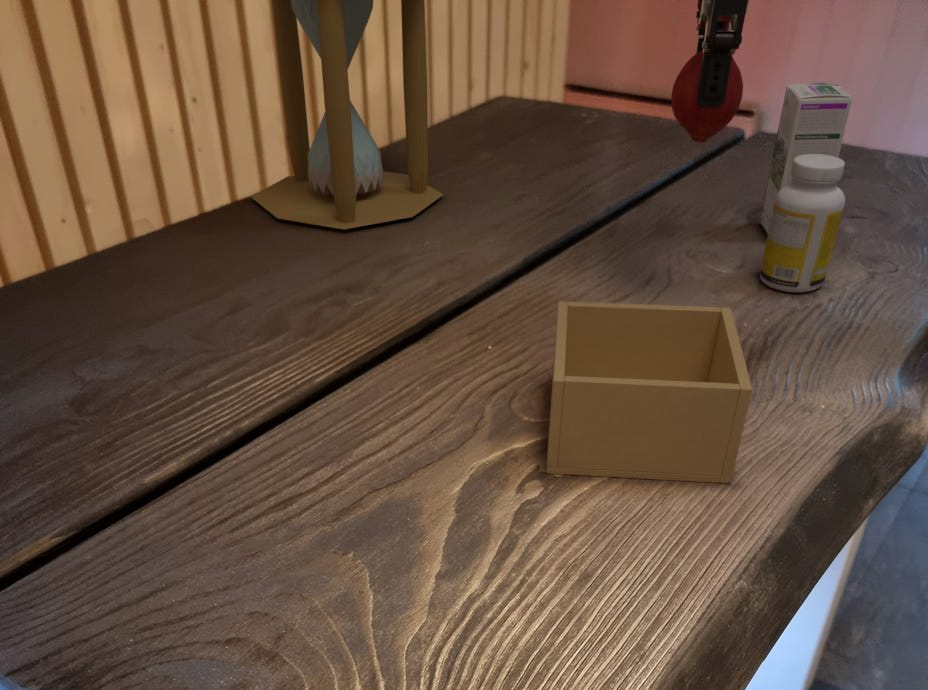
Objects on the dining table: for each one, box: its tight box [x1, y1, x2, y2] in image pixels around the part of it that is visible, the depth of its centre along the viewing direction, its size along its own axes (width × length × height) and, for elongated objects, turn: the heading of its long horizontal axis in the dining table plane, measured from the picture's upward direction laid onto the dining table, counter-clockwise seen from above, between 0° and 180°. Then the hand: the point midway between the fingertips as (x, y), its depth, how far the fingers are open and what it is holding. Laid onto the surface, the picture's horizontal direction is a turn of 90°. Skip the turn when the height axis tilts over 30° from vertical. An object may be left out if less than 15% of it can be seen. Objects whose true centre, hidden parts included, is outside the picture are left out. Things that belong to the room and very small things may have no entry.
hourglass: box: [250, 0, 445, 230], centre depth 108 cm, size 24×22×25 cm
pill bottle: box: [759, 154, 846, 293], centre depth 92 cm, size 6×6×12 cm
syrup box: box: [759, 82, 853, 236], centre depth 101 cm, size 6×6×14 cm
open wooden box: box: [545, 301, 753, 484], centre depth 71 cm, size 14×14×8 cm
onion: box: [670, 50, 744, 144], centre depth 78 cm, size 6×6×8 cm
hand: (706, 95), depth 78 cm, fingers closed on onion, 6 cm apart
